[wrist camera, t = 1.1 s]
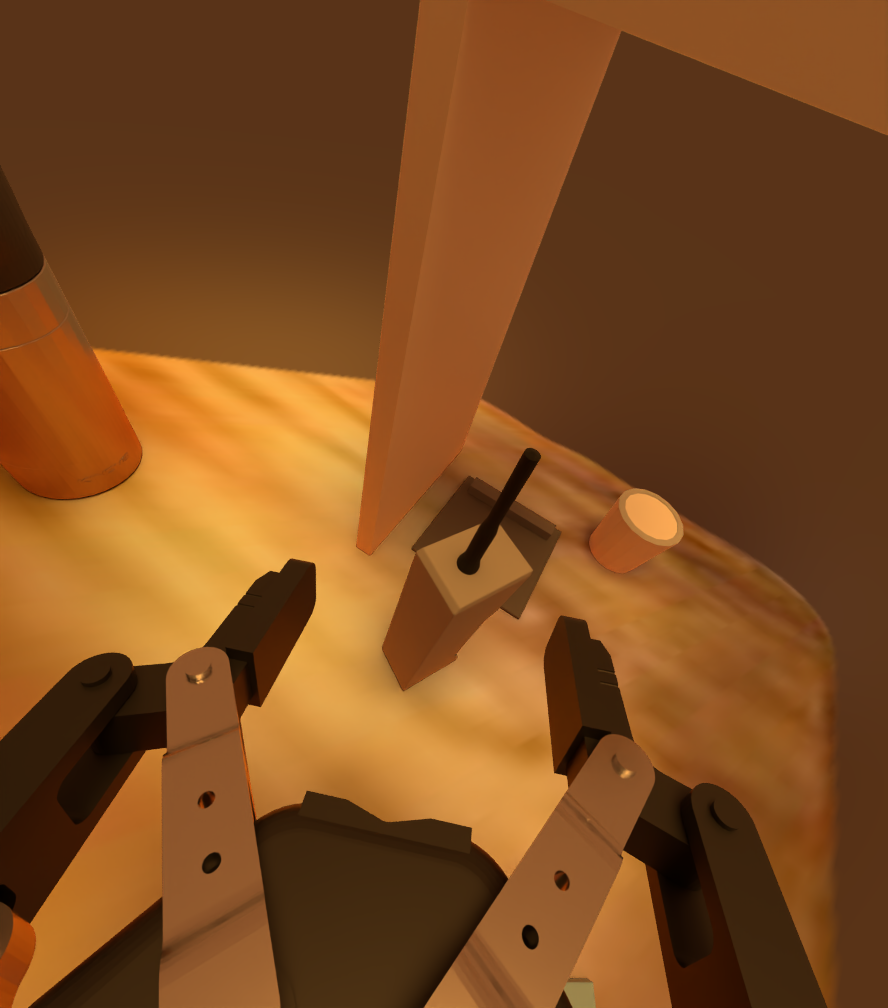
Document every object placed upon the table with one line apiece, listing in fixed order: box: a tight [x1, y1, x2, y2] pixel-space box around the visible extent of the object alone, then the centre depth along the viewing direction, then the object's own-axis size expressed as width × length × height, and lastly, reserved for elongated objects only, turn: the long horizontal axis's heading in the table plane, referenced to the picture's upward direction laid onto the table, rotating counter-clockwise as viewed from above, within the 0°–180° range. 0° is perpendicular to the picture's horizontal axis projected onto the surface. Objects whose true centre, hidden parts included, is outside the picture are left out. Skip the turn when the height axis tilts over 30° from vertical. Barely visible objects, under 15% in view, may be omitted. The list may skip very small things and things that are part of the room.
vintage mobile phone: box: [382, 448, 541, 691], centre depth 24 cm, size 4×5×25 cm
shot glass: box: [589, 488, 683, 573], centre depth 43 cm, size 7×7×7 cm
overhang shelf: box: [356, 0, 888, 619], centre depth 28 cm, size 17×18×36 cm
